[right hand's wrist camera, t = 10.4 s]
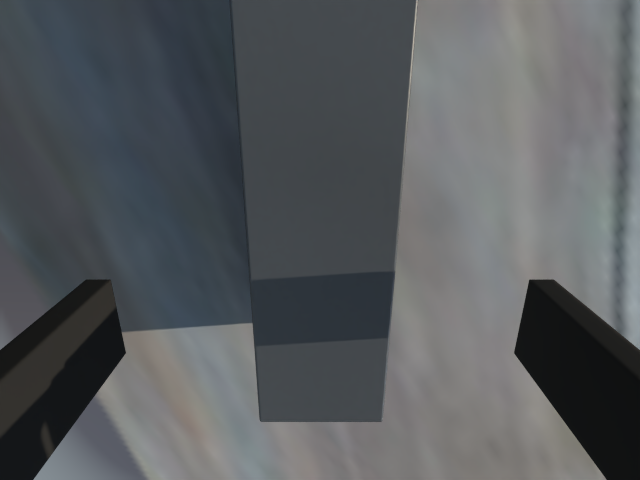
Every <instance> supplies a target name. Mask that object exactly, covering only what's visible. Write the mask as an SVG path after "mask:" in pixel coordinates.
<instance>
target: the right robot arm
mask: <svg viewBox="0 0 640 480" xmlns="http://www.w3.org/2000/svg"><path fill="white" fill-rule="evenodd" d="M125 354H126V351H125V347H124V342H123V337H122V332H121V327H120V323H119V318H118V313H117V308H116V303H115V299H114V294H113V289H112V284H111V280H85V281H84V282H83V283H82V284H80V285H79V286H78V287H77V288H75V289H74V290H73V291H72V292H71V293H69V294H68V295H67V296H66V297H64V298H63V299H62V300H61V301H60V302H58V303H57V304H56V305H55V306H53V307H52V308H51V309H50V310H49V311H47V312H46V313H45V314H44V315H43V316H41V317H40V318H39V319H38V320H36V321H35V322H34V323H33V324H32V325H30V326H29V327H28V328H27V329H25V330H24V331H23V332H22V333H21V334H19V335H18V336H17V337H16V338H14V339H13V340H12V341H11V342H10V343H8V344H7V345H6V346H5V347H4V348H2V349H1V350H0V480H33V479H34V478H35V476H36V475H37V474H38V472H39V471H40V470H41V468H42V467H43V465H44V464H45V463H46V461H47V460H48V459H49V457H50V456H51V454H52V453H53V452H54V450H55V449H56V448H57V446H58V445H59V444H60V442H61V441H62V440H63V438H64V437H65V435H66V434H67V433H68V431H69V430H70V429H71V427H72V426H73V424H74V423H75V422H76V420H77V419H78V418H79V416H80V415H81V414H82V412H83V411H84V410H85V408H86V407H87V405H88V404H89V403H90V401H91V400H92V399H93V397H94V396H95V394H96V393H97V392H98V390H99V389H100V388H101V386H102V385H103V384H104V382H105V381H106V379H107V378H108V377H109V375H110V374H111V373H112V371H113V370H114V369H115V367H116V366H117V364H118V363H119V362H120V360H121V359H122V358H123V356H124V355H125ZM514 354H515V355H516V356H517V358H518V359H519V360H520V362H521V363H522V364H523V366H524V367H525V369H526V370H527V371H528V373H529V374H530V375H531V377H532V378H533V379H534V381H535V382H536V384H537V385H538V386H539V388H540V389H541V390H542V392H543V393H544V394H545V396H546V397H547V399H548V400H549V401H550V403H551V404H552V405H553V407H554V408H555V410H556V411H557V412H558V414H559V415H560V416H561V418H562V419H563V420H564V422H565V423H566V425H567V426H568V427H569V429H570V430H571V431H572V433H573V434H574V435H575V437H576V438H577V440H578V441H579V442H580V444H581V445H582V446H583V448H584V449H585V450H586V452H587V453H588V455H589V456H590V457H591V459H592V460H593V461H594V463H595V464H596V465H597V467H598V468H599V470H600V471H601V472H602V474H603V475H604V476H605V478H606V479H607V480H640V350H639V349H638V348H636V347H635V346H634V345H633V344H632V343H630V342H629V341H628V340H627V339H626V338H624V337H623V336H622V335H621V334H619V333H618V332H617V331H616V330H615V329H613V328H612V327H611V326H610V325H608V324H607V323H606V322H605V321H604V320H602V319H601V318H600V317H599V316H597V315H596V314H595V313H594V312H593V311H591V310H590V309H589V308H588V307H587V306H585V305H584V304H583V303H582V302H580V301H579V300H578V299H577V298H576V297H574V296H573V295H572V294H571V293H569V292H568V291H567V290H566V289H565V288H563V287H562V286H561V285H560V284H558V283H557V282H556V281H555V280H529V284H528V289H527V294H526V299H525V303H524V308H523V313H522V318H521V323H520V327H519V332H518V337H517V342H516V347H515V351H514Z"/></svg>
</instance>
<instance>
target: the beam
mask: <svg viewBox="0 0 640 480" xmlns="http://www.w3.org/2000/svg"><path fill="white" fill-rule="evenodd" d="M417 7H418V0H230V13H231V27H232V41H233V55H234V69H235V83H236V97H237V111H238V125H239V139H240V153H241V167H242V180H243V194H244V208H245V222H246V236H247V250H248V264H249V278H250V292H251V306H252V320H253V334H254V347H255V361H256V375H257V389H258V403H259V417H260V421H261V422H382V420H383V411H384V399H385V387H386V375H387V363H388V351H389V339H390V328H391V316H392V304H393V292H394V280H395V268H396V256H397V244H398V233H399V221H400V209H401V197H402V185H403V173H404V161H405V150H406V138H407V126H408V114H409V102H410V90H411V78H412V67H413V55H414V43H415V31H416V19H417Z"/></svg>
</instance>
